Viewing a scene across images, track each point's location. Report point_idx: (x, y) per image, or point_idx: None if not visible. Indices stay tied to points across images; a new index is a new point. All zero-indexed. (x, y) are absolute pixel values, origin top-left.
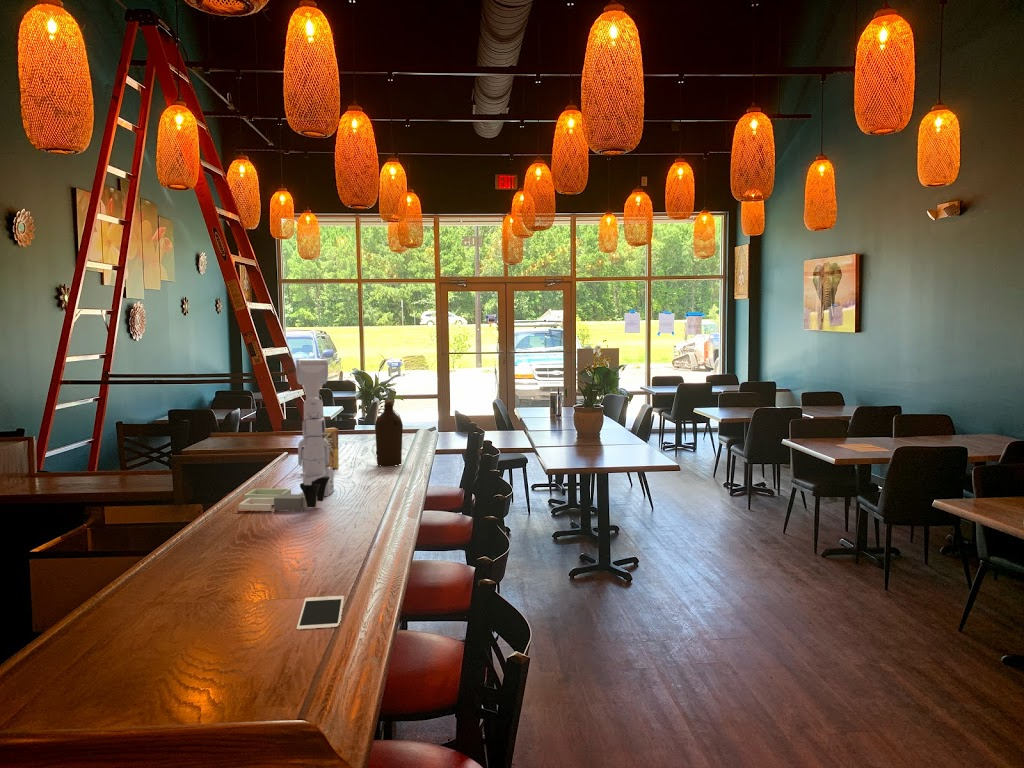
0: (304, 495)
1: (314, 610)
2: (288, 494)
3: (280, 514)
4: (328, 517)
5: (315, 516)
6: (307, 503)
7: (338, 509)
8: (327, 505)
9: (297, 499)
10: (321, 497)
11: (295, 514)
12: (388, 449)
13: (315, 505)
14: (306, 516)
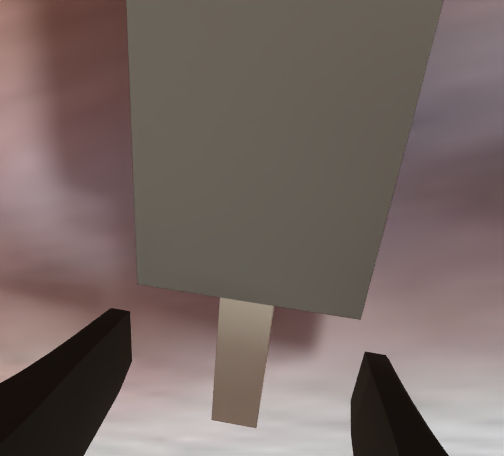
0: (305, 309)
1: None
2: (421, 60)
3: (35, 29)
4: None
5: (32, 336)
6: (87, 331)
7: (239, 453)
8: None
9: (142, 241)
10: (353, 426)
11: (61, 185)
12: None
13: (123, 372)
14: (18, 279)
